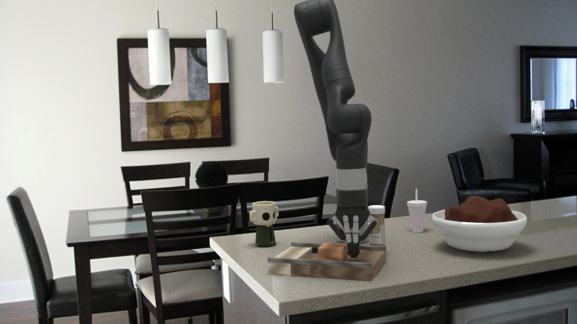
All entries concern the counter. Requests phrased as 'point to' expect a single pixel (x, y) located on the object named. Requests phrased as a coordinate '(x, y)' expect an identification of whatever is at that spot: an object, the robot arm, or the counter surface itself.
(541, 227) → the counter surface
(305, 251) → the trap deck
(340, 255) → the terracotta block
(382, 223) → the sprinkles bottle
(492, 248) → the chocolate pudding bowl
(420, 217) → the smoothie
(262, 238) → the character mug
